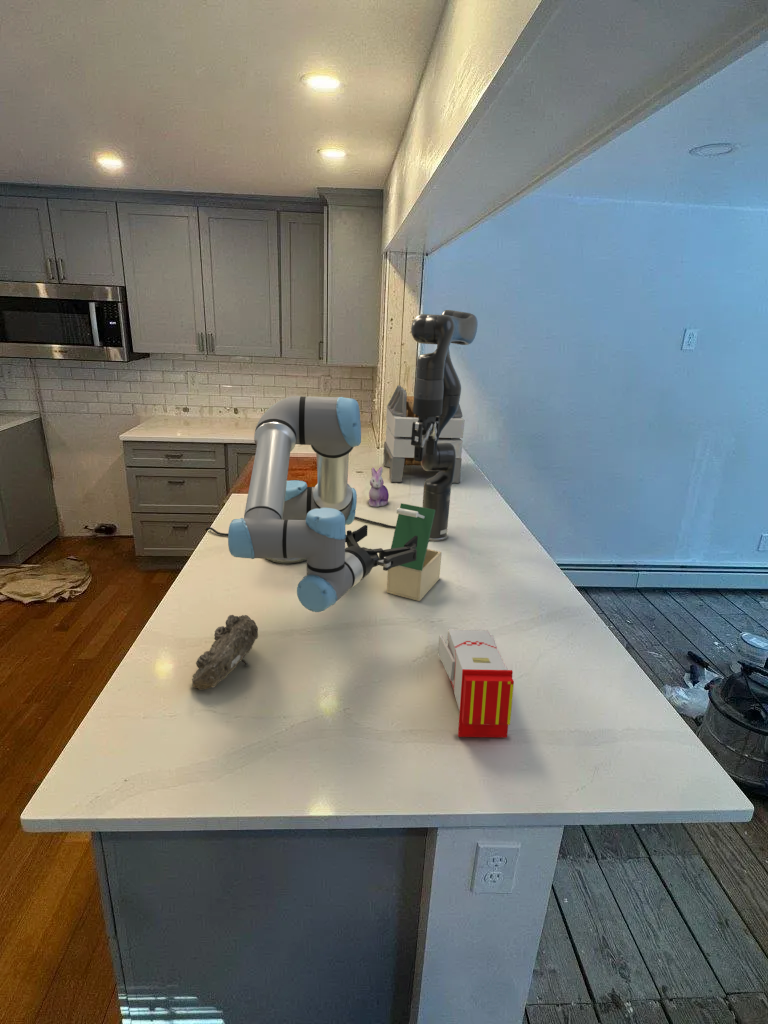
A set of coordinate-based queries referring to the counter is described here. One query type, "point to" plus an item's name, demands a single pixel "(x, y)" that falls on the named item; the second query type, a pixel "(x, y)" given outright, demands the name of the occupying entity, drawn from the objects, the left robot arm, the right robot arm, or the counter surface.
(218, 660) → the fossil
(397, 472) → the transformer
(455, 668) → the toy
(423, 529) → the lid
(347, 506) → the left robot arm
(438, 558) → the chest
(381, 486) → the figurine
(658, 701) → the counter surface
